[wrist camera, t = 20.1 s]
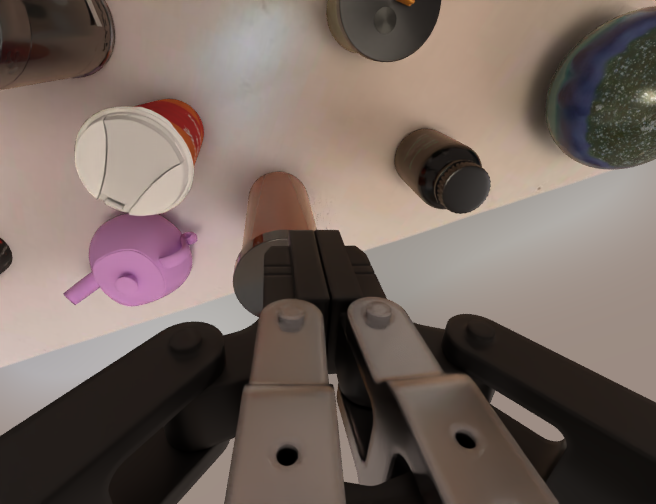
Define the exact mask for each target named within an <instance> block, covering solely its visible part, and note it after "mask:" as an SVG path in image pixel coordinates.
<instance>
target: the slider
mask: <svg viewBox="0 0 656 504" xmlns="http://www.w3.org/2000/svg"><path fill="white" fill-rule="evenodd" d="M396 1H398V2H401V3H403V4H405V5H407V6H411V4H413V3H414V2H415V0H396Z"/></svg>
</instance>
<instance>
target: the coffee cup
mask: <svg viewBox="0 0 656 504" xmlns="http://www.w3.org/2000/svg"><path fill="white" fill-rule="evenodd" d="M203 137H204V129H203V124H202V121H201V119H200V117H199V115H198V114H197V112H196V111H195V110H194V109H193V108H192V107H190V106H189V105H188V104H186V103H184V102H182V101H179V100H176V99H162V100H157V101H153V102H149V103H145V104H141V105H138V106H134V107H125V106H119V107H111V108H107V109H104V110H101V111H99V112H97V113H95V114H94V115H92V116H91V117H90V118H89V119H87V120H86V122H85V123H84V124H83V125H82V126H81V128H80V130H79V132H78V134H77V138H76V141H75V150H74V151H75V156H74V157H75V166H76V169H77V173H78V175H79V177H80V180H81V181H82V183H83V184H84V186H85V188H86V189H87V190H88V191H89V192H90V194H91V195H92V196H93V197H95V198H96V199H99V200H101V201H103V202H105V204H106V205H108V206H110V207H112V208H115V209H117V210H119V211H123V212H127V213H129V215H134V216H146V215H155V214H160V213H163V212H167V211H169V210H171V209H173V208H174V207H176V206H177V205H178V204H180V203H181V202H182V201H183V200H184V199H185V197H186V196H187V194H188V193H189V190H190V188H191V186H192V182H193V178H194V165H195V162H196V159H197V157H198V154H199V151H200V148H201V145H202V142H203Z"/></svg>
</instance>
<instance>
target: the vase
mask: <svg viewBox="0 0 656 504" xmlns="http://www.w3.org/2000/svg"><path fill="white" fill-rule="evenodd" d="M545 114H546V123H547V127H548V130H549V132H550V135H551V137H552V139H553V141H554V142H555V144H556V145H557V146H558V147H559V148H560V150H561V151H562V152H563V153H565V154H566V155H567V156H568V157H570V158H571V159H573V160H574V161H576V162H579V163H581V164H583V165H586V166H589V167H593V168H598V169H624V168H630V167H634V166H638V165H641V164H644V163H647V162H649V161H652V160H654V159H656V6H654V7H647V8H642V9H638V10H635V11H631V12H628V13H625V14H623V15H620V16H618V17H616V18H613V19H611V20H609V21H607V22H606V23H604V24H603V25H601V26H599V27H598V28H596V29H595V30H593V31H592V32H590V33H589V34H588V35H587V36H585V37H584V38H583V39H582V40H581V41H580V42H579V43H578V44H577V45H576V46H575V47H574V48H573V49H572V50H571V51H570V52H569V53H568V55H567V56H566V57H565V58H564V60H563V61H562V62H561V64H560V66H559V67H558V69H557V70H556V72H555V74H554V76H553V79H552V81H551V83H550V86H549V89H548V93H547V98H546V107H545Z"/></svg>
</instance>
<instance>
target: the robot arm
mask: <svg viewBox="0 0 656 504" xmlns="http://www.w3.org/2000/svg"><path fill="white" fill-rule="evenodd" d="M114 43H115V29H114V23H113V19H112V16H111V13H110V10H109V8H108V5H107V3H106V1H105V0H0V90H5V89H11V88H16V87H22V86H28V85H33V84H39V83H44V82H50V81H56V80H62V79H68V78H80V77H85V76H89V75H91V74H94V73H96V72H97V71H99V70H100V69H101V68H102V67H103V66H104V65H105V64H106V63H107V62H108V60H109V58H110V57H111V54H112V52H113V48H114ZM328 374H337V378H338V382H339V383H338V391H337V402H338V406H339V409H340V413H341V417H342V420H343V424H344V427H345V431H346V434H347V438H348V441H349V445H350V448H351V452H352V455H353V459H354V462H355V466H356V470H357V474H358V480H359V484H354V483H347V482H344V480H343V470H342V460H341V450H340V440H339V430H338V420H337V411H336V400H335V391H334V387H333V385H332V384H329V379H328ZM495 390H496V391H498V392H499V393H501V394H502V395H504V396H506V397H507V398H509V399H511V400H513V401H514V402H516V403H517V404H519V405H521V406H522V407H524V408H526V409H527V410H529V411H530V412H532V413H534V414H535V415H537V416H539V417H540V418H542V419H544V420H545V421H547V422H548V423H550V424H552V425H553V426H555V427H556V428H557V429H558V430H559V431H560V432H561V433H562V434H563V436H564V439H563V440H562V441H558V442H556V441H550V440H547V439H545V438H543V437H541V436H540V435H538V434H536V433H535V432H533V431H532V430H530V429H529V428H527V427H525V426H524V425H522V424H521V423H519V422H518V421H516V420H514V419H512V418H511V417H510V416H508V415H507V414H505V413H503V412H502V411H500V410H498V409H497V408H496V407H494V406H492V405H491V404H490V402H491V400H492V397H493V395H494V392H495ZM234 437H235V442H234V448H233V454H232V460H231V466H230V472H229V478H228V484H227V490H226V497H225V502H224V504H656V403H655V402H654V401H651V400H650V399H648V398H646V397H643V396H642V395H640V394H637V393H635V392H633V391H631V390H629V389H628V388H626V387H623V386H622V385H619V384H618V383H615V382H613V381H611V380H609V379H607V378H606V377H604V376H601V375H599V374H598V373H596V372H593V371H592V370H590V369H588V368H585V367H584V366H582V365H580V364H578V363H576V362H574V361H572V360H569V359H568V358H565V357H564V356H562V355H560V354H558V353H556V352H554V351H552V350H549V349H547V348H546V347H544V346H542V345H539V344H538V343H536V342H533V341H532V340H530V339H528V338H526V337H524V336H522V335H520V334H517V333H516V332H514V331H512V330H510V329H508V328H506V327H504V326H502V325H500V324H498V323H496V322H494V321H491V320H489V319H487V318H484V317H482V316H478V315H472V314H460V315H456V316H454V317H452V318H450V319H449V321H448V323H447V325H446V328H445V329H440V328H435V327H429V326H424V325H420V324H416V323H413V322H412V321H411V319H410V317H409V316H408V314H407V313H406V311H405V310H404V309H403V308H402V307H401V306H399V305H398V304H396V303H394V302H393V301H390V300H388V299H387V298H386V296H385V294H384V292H383V290H382V288H381V285H380V283H379V281H378V279H377V277H376V275H375V274H374V270H373V268H372V266H371V264H370V262H369V259H368V257H367V255H366V254H365V253H364V252H363V251H361V250H360V249H359V248H358V247H356V246H344V243H343V240H342V238H341V235H340V232H339V230H314V232H313V230H289V232H288V246H271V247H270V248H269V249H268V250H267V252H266V253H265V254H264V280H263V310H262V311H261V313H260V316H259V319H258V320H257V321H256V322H255V323H254V324H252V325H251V326H249V327H247V328H245V329H243V330H241V331H238V332H235V333H231V334H227V335H222V333H221V332H220V331H219V329H217V328H216V327H215V326H213V325H210V324H208V323H204V322H185V323H180V324H177V325H173V326H171V327H168V328H166V329H165V330H163V331H161V332H160V333H158V334H157V335H155V336H153V337H152V338H150V339H149V340H148V341H146V342H144V343H143V344H141V345H140V346H138V347H137V348H135V349H134V350H132V351H130V352H129V353H127V354H126V355H125V356H123V357H121V358H120V359H118V360H117V361H115V362H113V363H112V364H110V365H109V366H107V367H106V368H104V369H103V370H101V371H100V372H98V373H97V374H95V375H94V376H92V377H90V378H89V379H87V380H86V381H84V382H83V383H81V384H80V385H78V386H77V387H75V388H73V389H72V390H70V391H69V392H67V393H66V394H64V395H63V396H61V397H60V398H58V399H57V400H55V401H54V402H52V403H50V404H49V405H47V406H46V407H44V408H43V409H41V410H40V411H38V412H37V413H35V414H33V415H32V416H30V417H29V418H27V419H26V420H25V421H23V422H21V423H20V424H18V425H17V426H15V427H13V428H12V429H11V430H9V431H7V432H6V433H4V434H3V435H1V436H0V504H177V503H178V502H179V501H180V500H181V499H182V497H183V496H184V495H185V494H186V493H187V492H188V491H189V490H190V489H191V487H192V486H193V485H194V484H195V483H196V482H197V481H198V479H199V478H200V477H201V476H202V475H203V474H204V473H205V472H206V471H207V469H208V468H209V467H210V466H211V465H212V464H213V463H214V462H215V461H216V459H217V458H218V457H219V456H220V455H221V454H222V453H223V451H224V450H225V449H226V447H227V445H228V444H229V441H230V439H232V438H234Z"/></svg>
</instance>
